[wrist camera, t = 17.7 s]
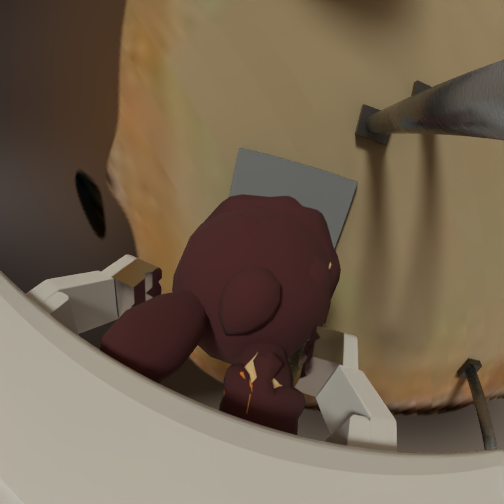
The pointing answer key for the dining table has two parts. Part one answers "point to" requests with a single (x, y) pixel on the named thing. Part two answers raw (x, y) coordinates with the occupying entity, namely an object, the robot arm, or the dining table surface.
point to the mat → (294, 185)
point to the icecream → (239, 305)
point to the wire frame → (447, 123)
